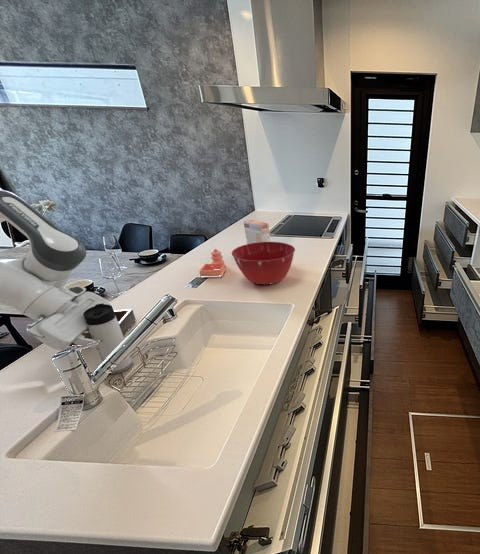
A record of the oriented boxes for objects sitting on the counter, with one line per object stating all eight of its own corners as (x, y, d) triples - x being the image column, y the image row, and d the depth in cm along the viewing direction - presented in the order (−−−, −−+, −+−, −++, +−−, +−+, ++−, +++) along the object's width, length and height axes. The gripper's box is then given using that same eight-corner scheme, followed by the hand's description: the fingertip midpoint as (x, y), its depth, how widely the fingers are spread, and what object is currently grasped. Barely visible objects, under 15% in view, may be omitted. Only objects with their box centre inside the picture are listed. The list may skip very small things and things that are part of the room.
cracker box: (272, 258, 176) (268, 222, 168) (264, 261, 172) (260, 225, 163) (256, 253, 183) (251, 219, 174) (248, 256, 178) (243, 221, 169)
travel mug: (133, 357, 94) (113, 300, 86) (131, 370, 89) (110, 311, 81) (108, 363, 91) (85, 306, 83) (104, 377, 86) (79, 317, 78)
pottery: (221, 277, 150) (218, 259, 146) (200, 278, 148) (196, 259, 144) (229, 264, 166) (226, 247, 162) (211, 265, 164) (207, 247, 160)
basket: (69, 347, 98) (64, 334, 96) (92, 325, 110) (87, 313, 107) (119, 342, 101) (114, 329, 99) (136, 320, 113) (132, 309, 111)
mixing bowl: (269, 264, 167) (265, 237, 161) (309, 276, 154) (307, 247, 148) (223, 282, 145) (218, 252, 138) (266, 298, 132) (262, 265, 126)
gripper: (27, 320, 70) (91, 350, 76) (84, 282, 88) (132, 309, 94) (12, 338, 71) (77, 366, 77) (72, 297, 89) (120, 322, 95)
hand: (107, 334), depth 85 cm, fingers open, 8 cm apart
